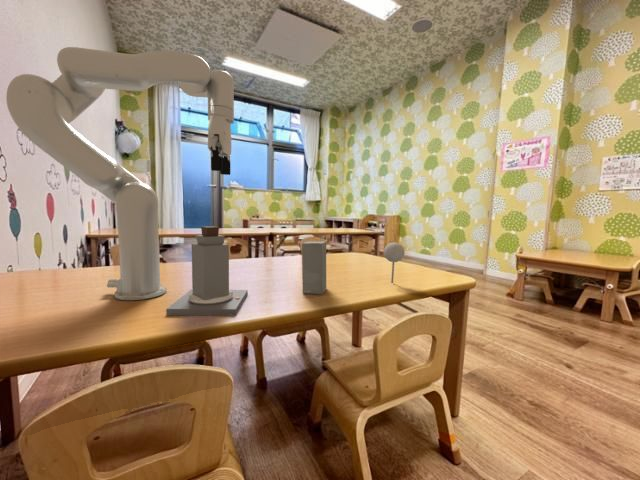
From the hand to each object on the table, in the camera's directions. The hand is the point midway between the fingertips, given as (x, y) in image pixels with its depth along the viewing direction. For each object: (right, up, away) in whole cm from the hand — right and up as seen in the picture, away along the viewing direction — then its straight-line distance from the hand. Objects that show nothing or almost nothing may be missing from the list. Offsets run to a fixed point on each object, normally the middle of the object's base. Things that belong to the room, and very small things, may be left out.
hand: (221, 172), depth 89 cm
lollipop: (+57, -37, +14) cm, 70 cm away
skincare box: (+29, -38, +2) cm, 48 cm away
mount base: (+2, -38, -14) cm, 41 cm away
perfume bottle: (+2, -36, -14) cm, 39 cm away
